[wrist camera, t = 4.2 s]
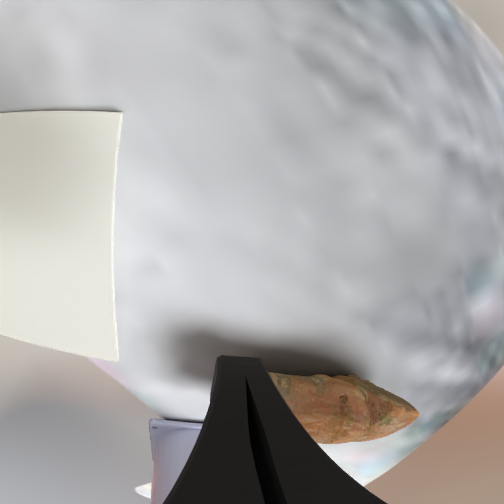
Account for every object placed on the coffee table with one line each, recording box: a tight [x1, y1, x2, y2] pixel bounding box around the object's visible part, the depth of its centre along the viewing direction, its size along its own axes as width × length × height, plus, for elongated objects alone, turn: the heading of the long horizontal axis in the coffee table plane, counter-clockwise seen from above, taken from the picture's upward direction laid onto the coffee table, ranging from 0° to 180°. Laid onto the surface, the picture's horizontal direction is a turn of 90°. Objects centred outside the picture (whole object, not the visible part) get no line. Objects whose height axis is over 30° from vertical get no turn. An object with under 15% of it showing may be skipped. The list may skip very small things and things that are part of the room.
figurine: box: [268, 372, 419, 444], centre depth 20 cm, size 8×8×15 cm
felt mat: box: [0, 111, 123, 362], centre depth 15 cm, size 16×14×1 cm
